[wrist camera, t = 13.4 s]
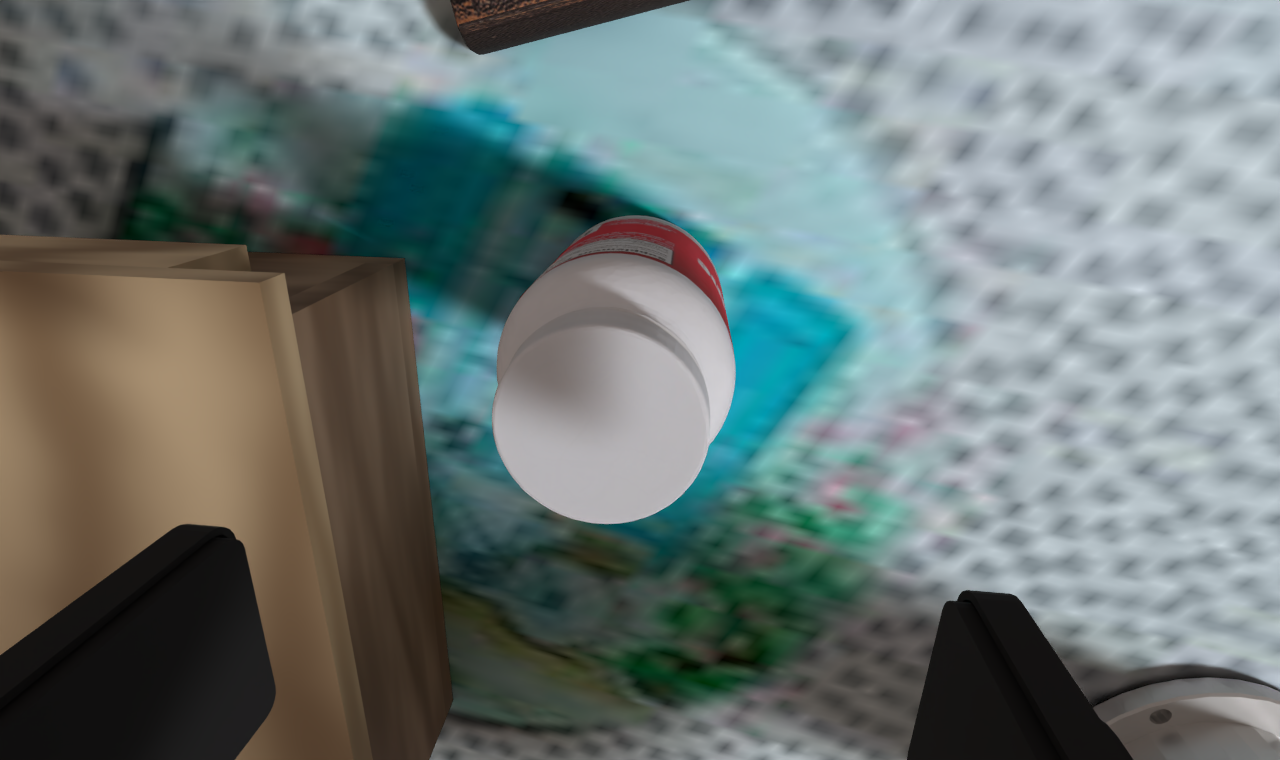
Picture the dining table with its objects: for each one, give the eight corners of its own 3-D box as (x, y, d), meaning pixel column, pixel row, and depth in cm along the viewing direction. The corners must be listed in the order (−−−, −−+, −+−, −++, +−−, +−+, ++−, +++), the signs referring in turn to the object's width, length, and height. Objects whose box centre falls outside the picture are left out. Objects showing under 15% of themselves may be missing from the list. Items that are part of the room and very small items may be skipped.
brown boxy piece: (404, 258, 24) (277, 321, 16) (453, 700, 32) (383, 874, 25) (69, 244, 25) (-198, 298, 17) (201, 680, 33) (60, 843, 26)
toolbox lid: (346, 249, 19) (180, 313, 13) (425, 799, 28) (349, 993, 21) (-107, 230, 20) (-469, 281, 13) (110, 771, 28) (-49, 951, 22)
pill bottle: (711, 382, 25) (726, 568, 15) (553, 368, 25) (460, 540, 15) (731, 218, 23) (766, 302, 12) (557, 203, 23) (449, 274, 13)
